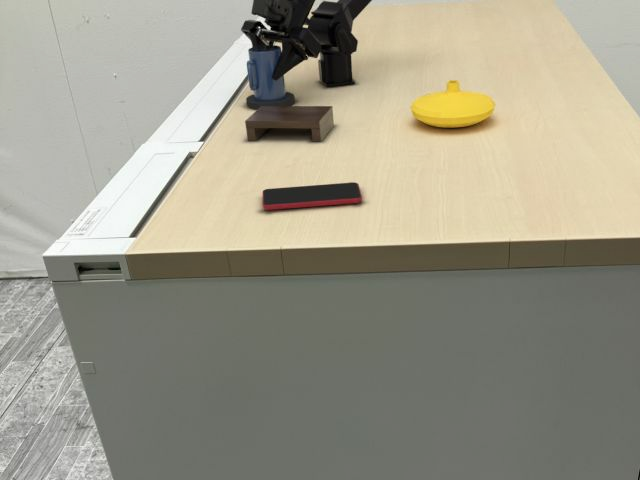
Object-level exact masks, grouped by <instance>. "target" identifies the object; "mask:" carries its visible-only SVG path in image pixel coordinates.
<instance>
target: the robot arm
mask: <svg viewBox="0 0 640 480" xmlns="http://www.w3.org/2000/svg"><path fill="white" fill-rule="evenodd" d="M372 1H373V0H337V2H336V1H327V0H322V2H320V4H319V5H318V7H317V8H316V9H315V10H312V8H313V6H314V4H315V2H316V0H253V1H252V6H251V12H250V14H251V15H252V16H258V17H261V18H262V19H264V21H263V22H264V23H262V21H261V20H254V19H247V20H246V19H245V20H244V22H243V24H242V26H241V28H240V31H241V32H242V33H243V34H244V36H245V37H246V38H248V39H249V41H250V43H251V48H252V47H256V46H263V45H275V43H279V44H281V54H280V57H279V59H278V62H277V64H276V67H275V69H274V72H273V75H272V78H273V79H274V80H275V81H276V80H278V79H279V78H280V77H282V76H283V75H284V76H285V75H286V74H287V73H289V72H290V71H291V70H292V69H294V68H295V67H296V66H298V65H300V64H301V63H303V62H304V61H308V60H309V58H312V59H318V57H319V59H318V60H317V64H318V76H319V77H318V78H319V81H320V82H321V83H322V84H323V86H325V87H326V88H331V87H338V86H346V85H354V84H356V80H354V78H353V65H352V62H353V61H352V55H353V54H354V53H356V52H357V49H358V43H359V40H358V39H357V37H356V36H355V35H354V34H353V33H352V31H353V25H354V21H355V20H356V19H357V18H358V16H359V15H360V14H361V13H362V12H363V11H364V10H365V8H366V7H368V5H369V4H370V3H372ZM310 14H311V16H310V17H309V15H310ZM265 24H266V26H268V27H270V28H269V29H268V28H267V27H266V26H265ZM304 26H307V27H304Z"/></svg>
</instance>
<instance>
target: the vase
mask: <svg viewBox="0 0 640 480" xmlns="http://www.w3.org/2000/svg"><path fill="white" fill-rule="evenodd" d="M495 107H496V103H495V101H494V100H493V99H492V97H490V96H489V95H487V94H484V93H481V92H476V91H469V90H460V80H456V79H453V80H447V81H446V90H441V91H437V92H432V93H427V94H424V95H421V96H420V97H417V98H416V99H414V101H413V102H412V104H411V105H410V112H411V113H412V114H411V115H412V117H414V118H415V120H418V121H420V122H422V123H424V124H426V125H429V126H432V127H436V128H464V127H469V126H472V125H476V124H479V123H480V122H482V121H484V120H486V119H487V118H489V117H490V116H492V115H493V113H494V111H495Z"/></svg>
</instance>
